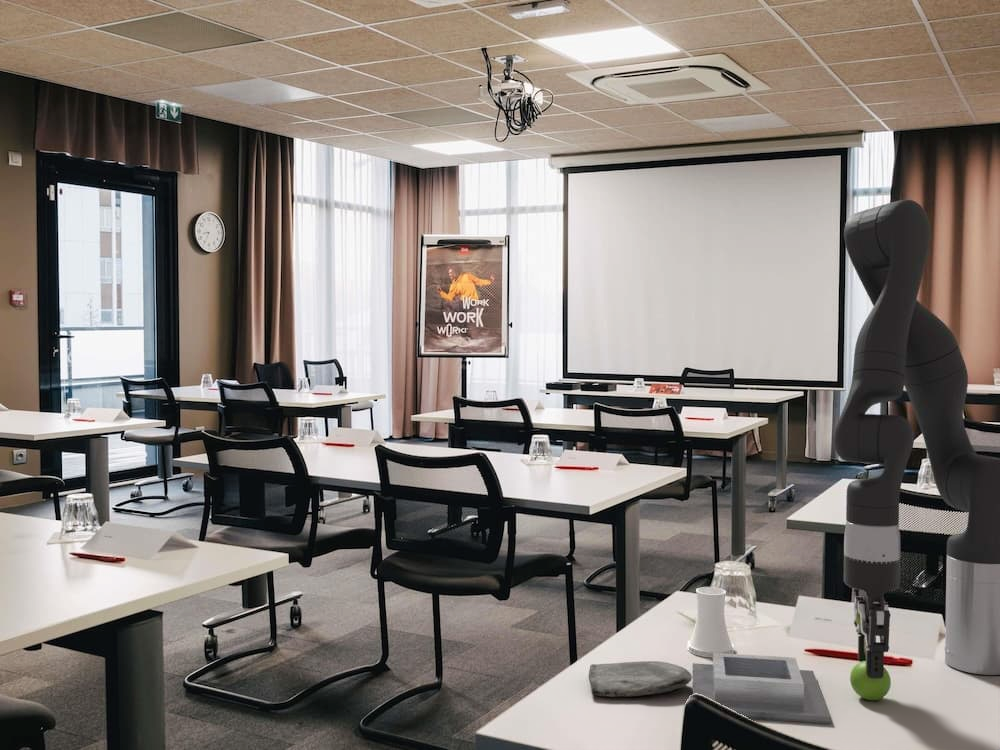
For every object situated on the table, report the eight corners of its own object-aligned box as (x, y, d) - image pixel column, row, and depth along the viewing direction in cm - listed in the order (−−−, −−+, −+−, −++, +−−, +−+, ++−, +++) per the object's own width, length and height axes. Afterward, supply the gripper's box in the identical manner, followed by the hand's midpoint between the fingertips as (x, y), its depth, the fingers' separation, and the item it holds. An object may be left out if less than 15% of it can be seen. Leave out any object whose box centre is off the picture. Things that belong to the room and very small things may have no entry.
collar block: (812, 677, 146) (813, 651, 146) (830, 724, 128) (830, 694, 128) (692, 669, 149) (692, 644, 149) (693, 714, 132) (693, 685, 131)
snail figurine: (888, 692, 140) (890, 610, 139) (891, 708, 134) (892, 623, 133) (849, 687, 141) (850, 607, 141) (850, 703, 135) (851, 619, 135)
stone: (689, 676, 146) (592, 687, 147) (685, 649, 146) (588, 661, 148) (697, 695, 135) (591, 707, 137) (692, 666, 135) (587, 679, 137)
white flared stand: (732, 644, 161) (732, 585, 161) (735, 659, 154) (735, 597, 154) (686, 641, 163) (687, 583, 162) (687, 656, 155) (688, 595, 155)
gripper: (911, 566, 129) (909, 689, 130) (889, 543, 143) (887, 654, 144) (852, 564, 130) (851, 685, 131) (836, 541, 144) (835, 651, 145)
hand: (870, 668), depth 137 cm, fingers open, 6 cm apart
